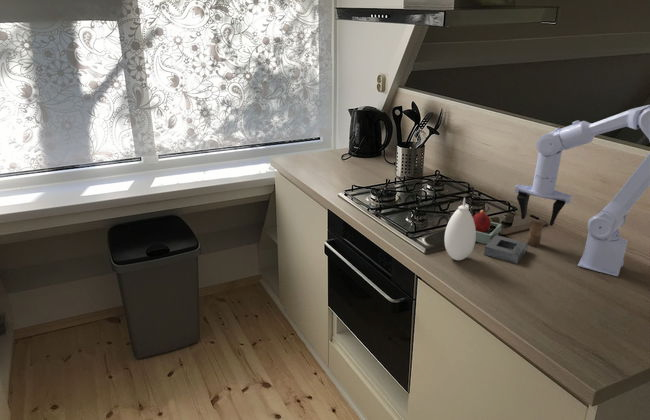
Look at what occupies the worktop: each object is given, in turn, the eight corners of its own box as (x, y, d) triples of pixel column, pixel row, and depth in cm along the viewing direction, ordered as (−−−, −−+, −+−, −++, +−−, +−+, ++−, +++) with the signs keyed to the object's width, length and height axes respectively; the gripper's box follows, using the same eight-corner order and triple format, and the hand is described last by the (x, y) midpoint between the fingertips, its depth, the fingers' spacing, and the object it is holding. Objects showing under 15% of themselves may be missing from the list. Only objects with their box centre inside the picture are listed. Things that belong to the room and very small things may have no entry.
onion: (489, 240, 149) (493, 215, 146) (469, 238, 151) (472, 213, 147) (488, 231, 155) (491, 207, 152) (468, 230, 156) (471, 205, 153)
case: (500, 233, 154) (501, 224, 153) (489, 245, 146) (490, 235, 145) (469, 225, 159) (470, 216, 158) (457, 236, 152) (458, 227, 150)
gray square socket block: (526, 251, 143) (527, 243, 142) (517, 263, 136) (518, 255, 135) (494, 242, 148) (495, 234, 147) (484, 254, 141) (485, 246, 140)
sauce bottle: (459, 250, 144) (466, 190, 137) (478, 262, 137) (486, 199, 130) (437, 255, 140) (443, 194, 133) (455, 268, 134) (462, 204, 127)
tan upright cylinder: (540, 243, 147) (544, 221, 145) (537, 247, 145) (541, 225, 142) (529, 240, 149) (533, 219, 146) (526, 244, 147) (530, 222, 144)
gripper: (577, 176, 138) (567, 222, 143) (522, 166, 146) (515, 210, 151) (572, 184, 133) (562, 231, 138) (515, 173, 140) (508, 218, 146)
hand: (537, 221), depth 144 cm, fingers open, 7 cm apart
